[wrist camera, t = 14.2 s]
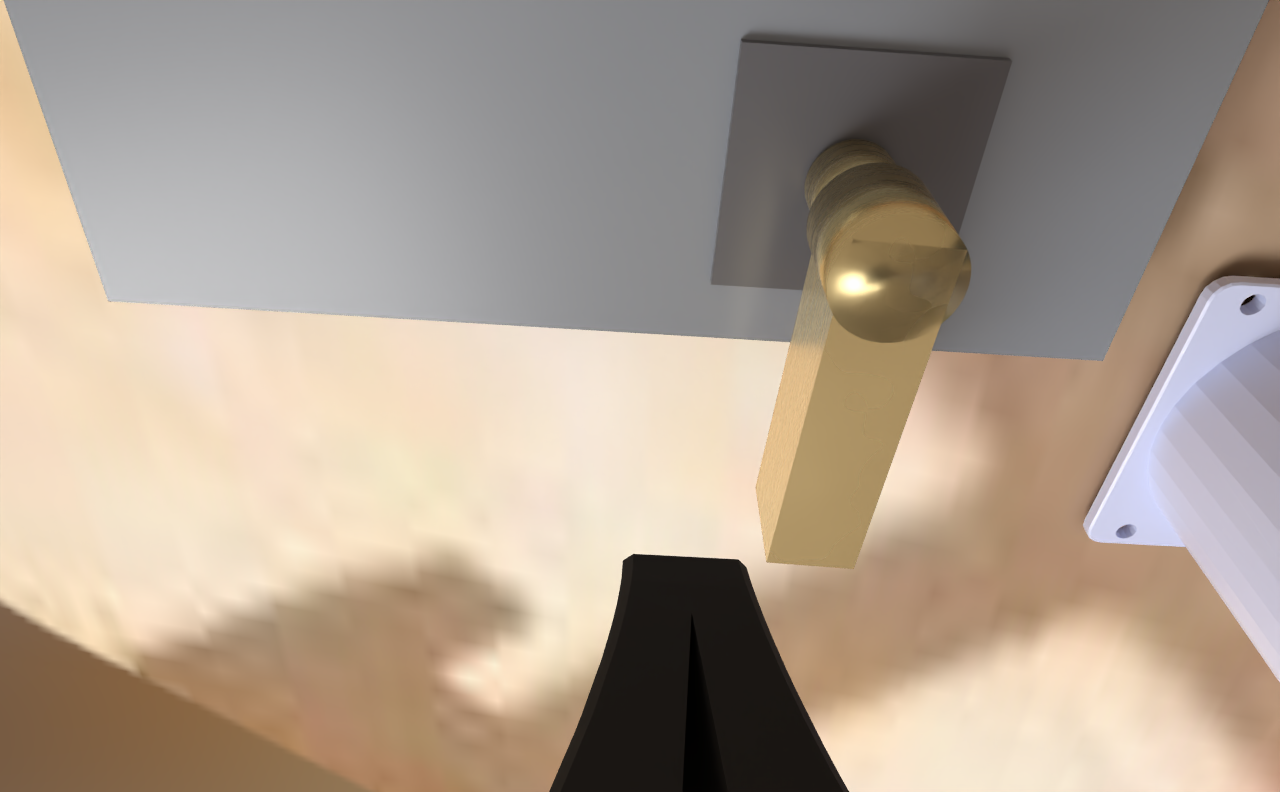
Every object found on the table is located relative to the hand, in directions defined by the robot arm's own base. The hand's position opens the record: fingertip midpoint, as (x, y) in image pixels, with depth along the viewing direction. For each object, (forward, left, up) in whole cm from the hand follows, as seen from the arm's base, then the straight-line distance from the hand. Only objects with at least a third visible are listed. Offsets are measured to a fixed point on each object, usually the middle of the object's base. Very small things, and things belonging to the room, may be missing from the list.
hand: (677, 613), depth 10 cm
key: (-3, 0, -8) cm, 8 cm away
